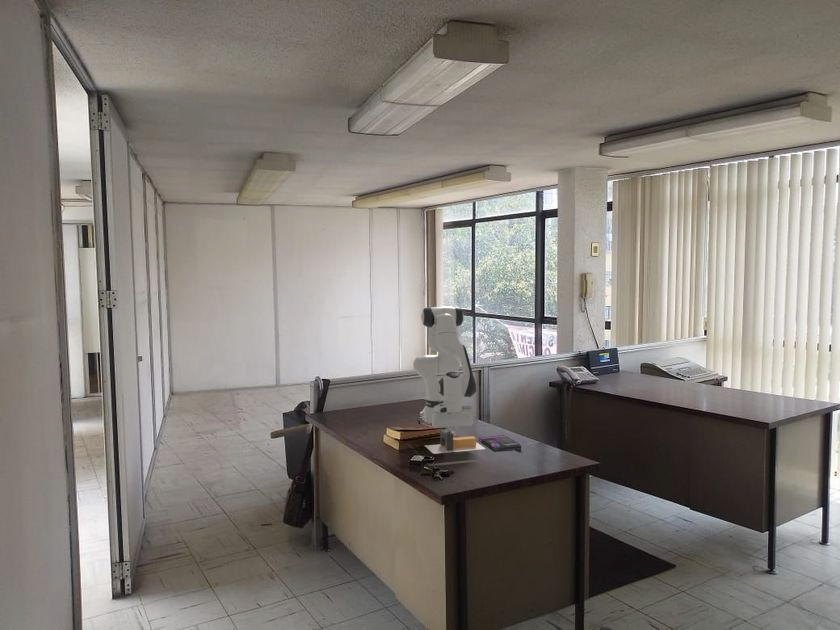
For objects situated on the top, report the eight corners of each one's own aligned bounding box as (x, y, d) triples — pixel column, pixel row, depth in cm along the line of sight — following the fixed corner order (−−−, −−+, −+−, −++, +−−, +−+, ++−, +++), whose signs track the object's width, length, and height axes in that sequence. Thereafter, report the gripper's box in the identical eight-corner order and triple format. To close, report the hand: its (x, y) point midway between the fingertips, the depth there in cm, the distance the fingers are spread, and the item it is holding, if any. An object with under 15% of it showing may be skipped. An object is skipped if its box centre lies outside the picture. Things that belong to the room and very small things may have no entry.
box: (478, 444, 303) (494, 454, 285) (478, 437, 303) (494, 447, 284) (504, 441, 307) (521, 451, 288) (504, 434, 307) (521, 444, 288)
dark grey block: (440, 444, 294) (440, 429, 294) (446, 444, 295) (446, 429, 294) (447, 450, 285) (447, 434, 285) (453, 449, 286) (453, 434, 285)
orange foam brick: (445, 446, 292) (445, 438, 292) (472, 444, 296) (473, 436, 296) (448, 449, 288) (448, 440, 288) (476, 446, 292) (476, 438, 292)
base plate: (424, 447, 294) (424, 445, 294) (474, 443, 302) (474, 441, 302) (433, 455, 281) (433, 453, 281) (486, 451, 288) (486, 448, 288)
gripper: (470, 404, 296) (470, 432, 297) (430, 406, 290) (430, 435, 291) (475, 406, 290) (475, 435, 291) (434, 409, 284) (434, 439, 285)
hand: (452, 435), depth 291 cm, fingers closed
